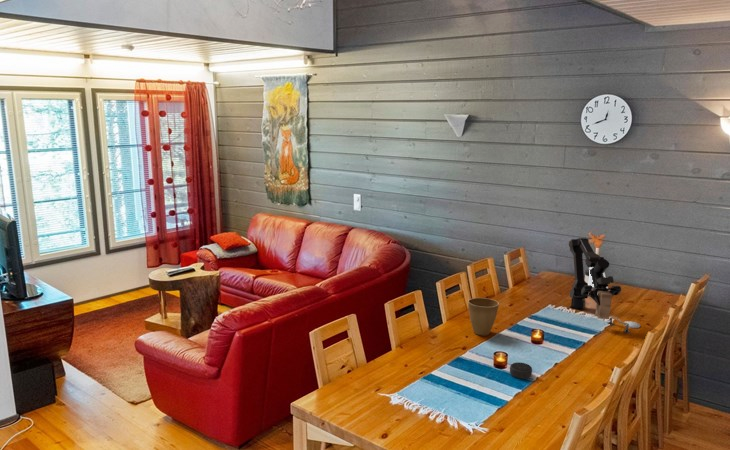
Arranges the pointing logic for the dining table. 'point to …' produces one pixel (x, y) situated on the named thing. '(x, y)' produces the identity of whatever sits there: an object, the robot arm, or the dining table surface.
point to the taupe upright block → (604, 305)
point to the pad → (632, 324)
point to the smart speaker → (521, 370)
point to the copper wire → (619, 322)
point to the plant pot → (482, 314)
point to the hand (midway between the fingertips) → (604, 305)
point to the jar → (586, 275)
